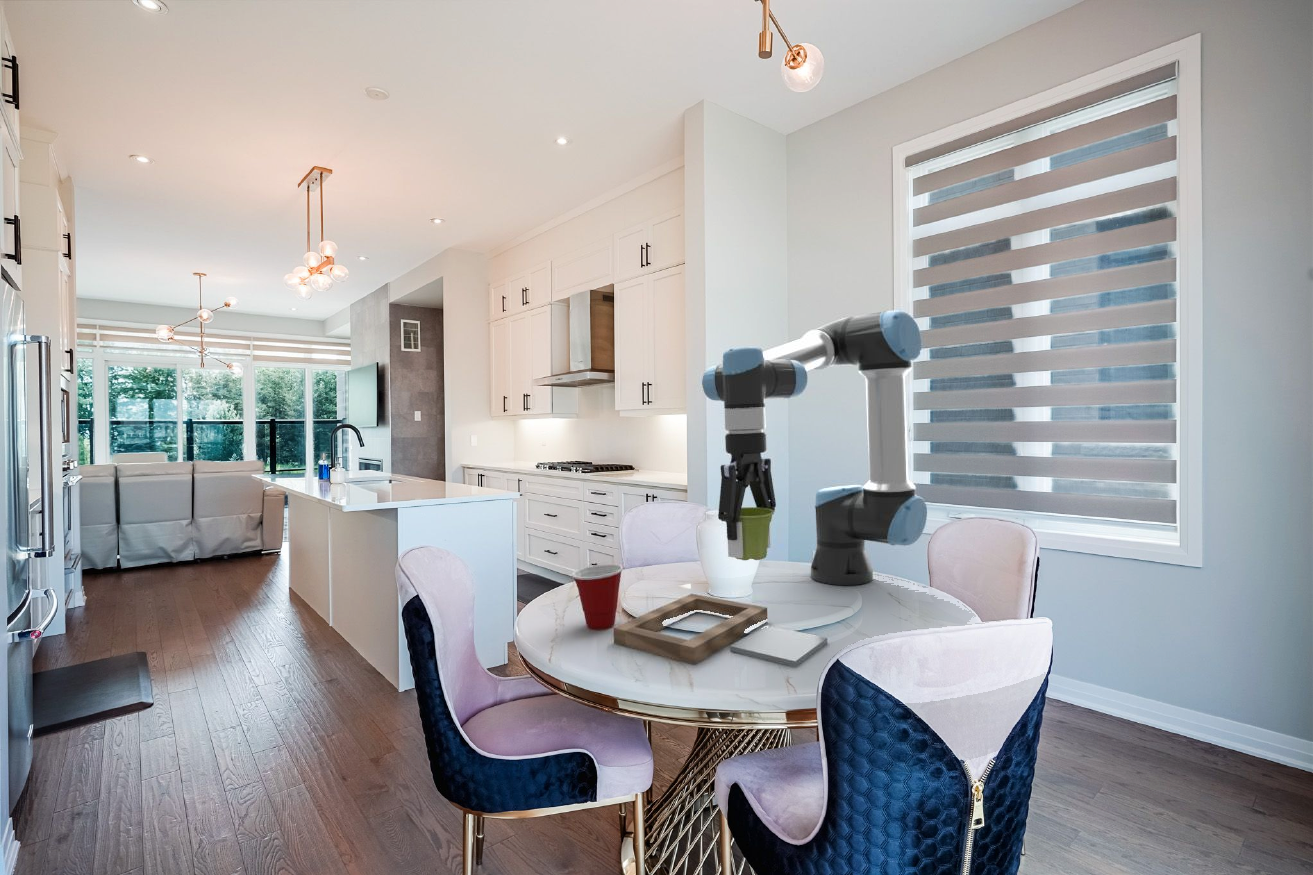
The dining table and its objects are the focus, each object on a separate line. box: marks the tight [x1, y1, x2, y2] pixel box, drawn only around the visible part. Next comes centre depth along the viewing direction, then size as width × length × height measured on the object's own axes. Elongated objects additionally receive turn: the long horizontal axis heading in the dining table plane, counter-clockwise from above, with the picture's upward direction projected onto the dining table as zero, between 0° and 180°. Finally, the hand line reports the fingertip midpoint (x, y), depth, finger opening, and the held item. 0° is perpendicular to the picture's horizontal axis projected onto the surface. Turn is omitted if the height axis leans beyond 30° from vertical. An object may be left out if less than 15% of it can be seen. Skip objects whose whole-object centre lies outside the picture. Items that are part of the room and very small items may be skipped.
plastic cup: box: [571, 563, 624, 631], centre depth 135 cm, size 11×11×12 cm
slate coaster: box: [729, 626, 828, 668], centre depth 119 cm, size 13×13×1 cm
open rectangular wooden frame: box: [612, 593, 768, 665], centre depth 128 cm, size 26×19×3 cm
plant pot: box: [724, 506, 775, 561], centre depth 121 cm, size 9×9×9 cm
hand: (749, 551), depth 121 cm, fingers closed on plant pot, 9 cm apart
